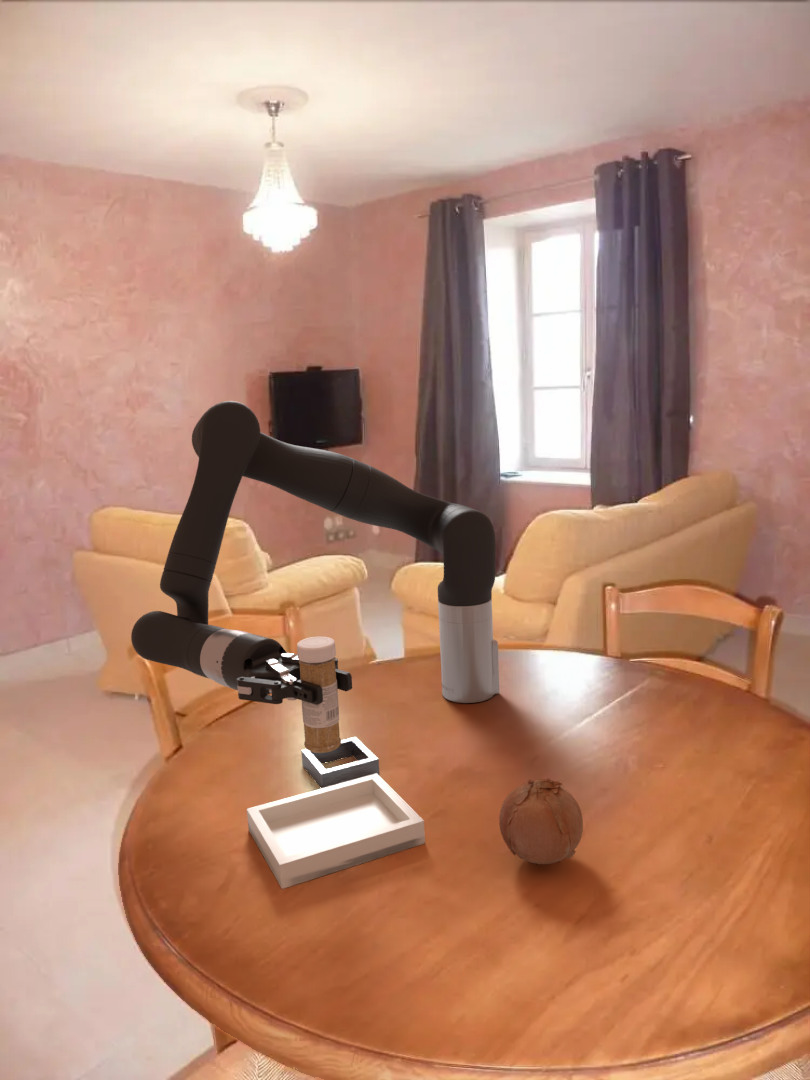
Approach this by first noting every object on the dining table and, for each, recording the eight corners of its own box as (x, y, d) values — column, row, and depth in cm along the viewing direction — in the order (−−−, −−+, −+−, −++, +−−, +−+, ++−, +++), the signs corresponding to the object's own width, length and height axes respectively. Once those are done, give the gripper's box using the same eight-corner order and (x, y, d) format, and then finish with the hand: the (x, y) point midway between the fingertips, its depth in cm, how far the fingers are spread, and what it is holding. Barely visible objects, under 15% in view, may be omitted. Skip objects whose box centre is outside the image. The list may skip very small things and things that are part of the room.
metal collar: (356, 751, 125) (355, 736, 125) (379, 775, 118) (378, 758, 117) (302, 765, 122) (301, 750, 121) (322, 790, 114) (321, 774, 114)
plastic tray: (378, 793, 112) (376, 773, 112) (425, 843, 100) (423, 820, 99) (248, 830, 105) (246, 808, 104) (281, 889, 93) (279, 864, 92)
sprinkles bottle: (328, 734, 104) (321, 632, 101) (348, 746, 101) (342, 641, 98) (296, 745, 101) (289, 641, 99) (317, 758, 98) (309, 650, 95)
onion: (549, 829, 102) (547, 754, 100) (601, 867, 93) (600, 786, 91) (484, 853, 97) (481, 775, 95) (533, 895, 89) (531, 810, 87)
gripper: (194, 649, 102) (288, 677, 91) (281, 619, 113) (374, 642, 102) (200, 706, 104) (293, 740, 93) (285, 671, 114) (377, 699, 104)
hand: (335, 688), depth 98 cm, fingers closed on sprinkles bottle, 4 cm apart
